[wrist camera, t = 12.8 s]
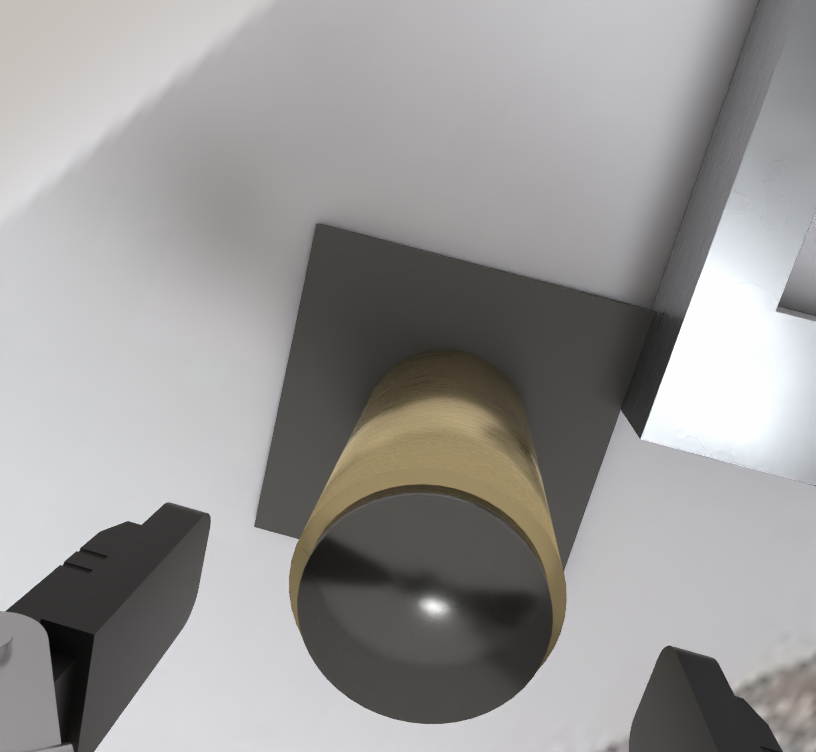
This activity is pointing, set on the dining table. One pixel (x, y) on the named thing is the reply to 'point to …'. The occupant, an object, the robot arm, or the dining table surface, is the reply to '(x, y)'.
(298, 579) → the tan cylinder
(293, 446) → the mat
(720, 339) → the block
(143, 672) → the robot arm
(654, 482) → the dining table surface
